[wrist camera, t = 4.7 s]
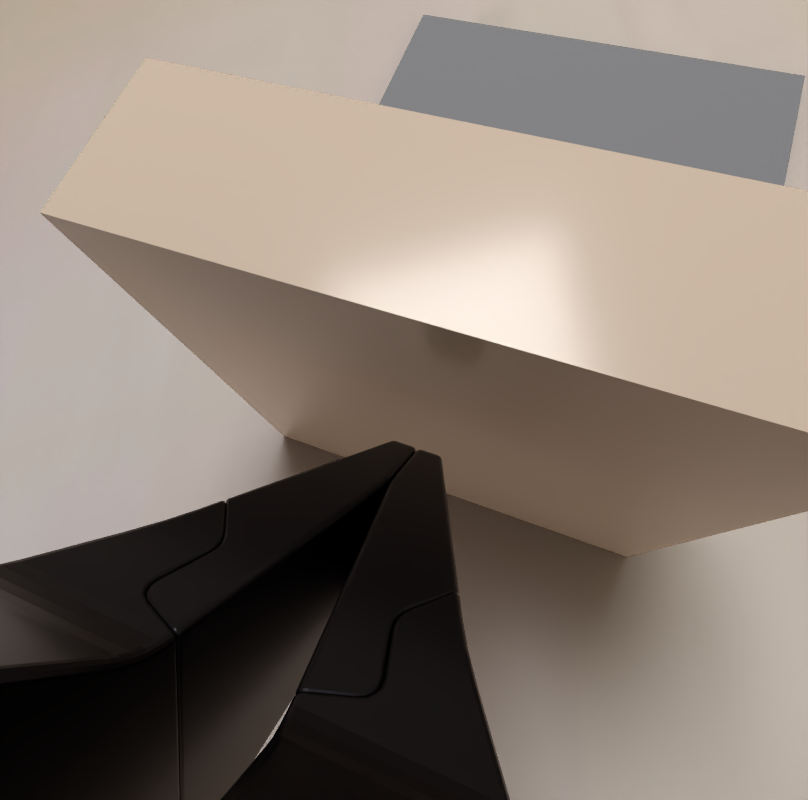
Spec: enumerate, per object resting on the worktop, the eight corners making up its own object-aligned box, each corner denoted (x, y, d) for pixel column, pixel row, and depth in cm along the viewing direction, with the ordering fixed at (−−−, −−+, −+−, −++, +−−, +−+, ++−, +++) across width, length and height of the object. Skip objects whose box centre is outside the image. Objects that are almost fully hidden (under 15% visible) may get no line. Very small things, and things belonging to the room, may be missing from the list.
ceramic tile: (626, 556, 15) (953, 474, 5) (284, 436, 18) (39, 212, 7) (651, 452, 16) (969, 206, 6) (323, 350, 19) (153, 45, 8)
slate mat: (727, 451, 16) (733, 447, 16) (280, 316, 19) (276, 311, 19) (798, 85, 20) (804, 76, 20) (424, 23, 24) (423, 14, 23)
